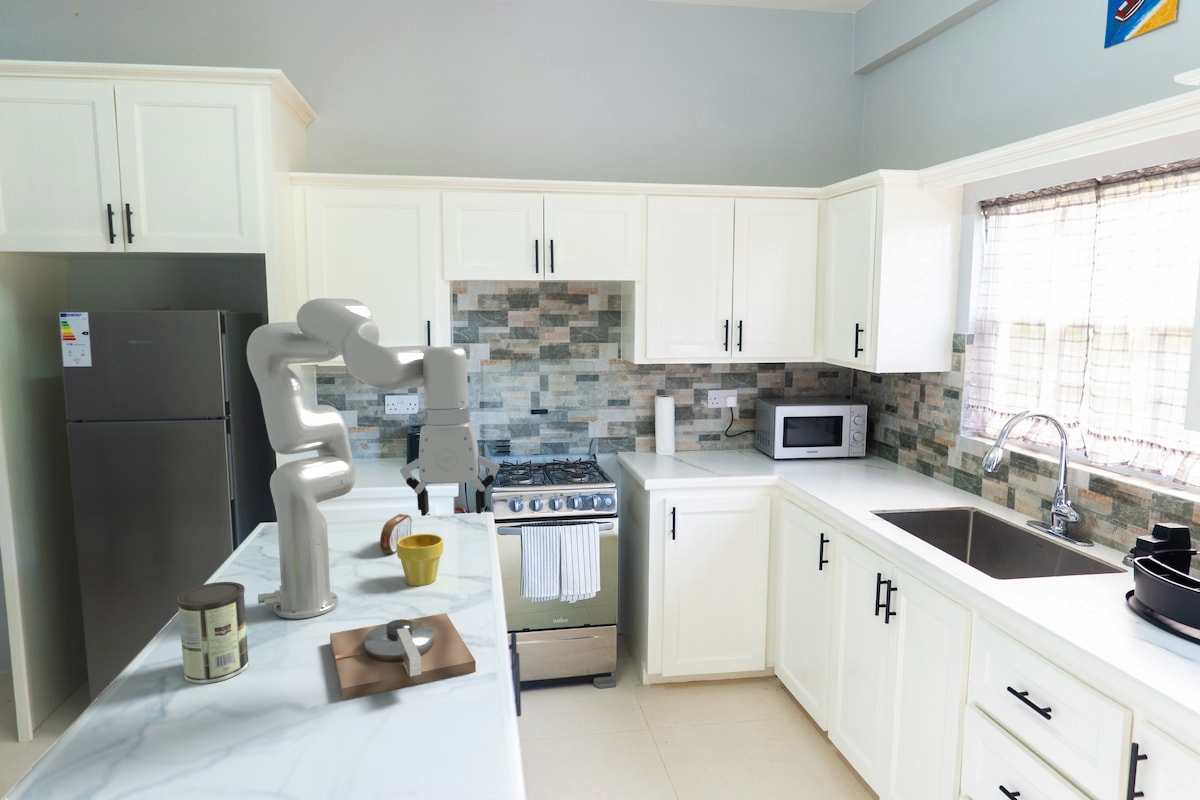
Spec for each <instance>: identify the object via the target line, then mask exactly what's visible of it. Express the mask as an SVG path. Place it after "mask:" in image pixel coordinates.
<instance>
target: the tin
mask: <svg viewBox="0 0 1200 800" xmlns="http://www.w3.org/2000/svg"><path fill="white" fill-rule="evenodd" d="M412 522H413V521H412V517H411V516H410V515H409V514H403V513H398V514H397V515H395V516H393V517H392V518H391V519H389V520H387V521H386V522H385V523H384V525H383V527H382V529H381V533H380V540H379V545H380V546H379V547H380V551H381V552H382V553H383V554H395V553H397V542H398V540H399V539H401V538H403V537H406V536H410V535H412Z"/></svg>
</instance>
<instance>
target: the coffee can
mask: <svg viewBox="0 0 1200 800" xmlns="http://www.w3.org/2000/svg"><path fill="white" fill-rule="evenodd" d="M176 602H177V605H178V615H179V616H178V617H179V627H180V640H181V642H180V643H181V653H182V654H181V655H182V664H183V678H184V680H185V681H187V682H188V683H193V684H198V685H199V684H201V685H202V684H203V685H205V684H213V683H218V682H219V683H220V682H221V681H226V680H228V679H231V678H233V677H236V676H238V675H240V674H241V673H242V672H244V671H245V670H246V669H247V668H248V666H249V665H250V659H249V650H248V648H249V647H248V636H247V624H246V620H247V619H246V605H245V586H244V585H243V584H242V583H238V582H235V581H234V582H233V581H219V582H217V581H216V582H210V583H205V584H200V585H197V586H194V587H191V588H188V589H187V590H185V591H183V592H181V593H180V594H179V595H178V596H177V599H176Z"/></svg>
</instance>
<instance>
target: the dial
mask: <svg viewBox="0 0 1200 800" xmlns="http://www.w3.org/2000/svg"><path fill="white" fill-rule="evenodd" d="M409 620H410V619H394V620H391V621H390V622H388V624H387V623H384V625H381V624H380V625H381V626H379V627H377V628H375V629H373V630H371V631H370V632H369V633H368V634H367V635H366V636H365V652H366V654H367V655H368V656H369V657H370V658H372V659H375V660H379V661H390V662H392V661H404V663H405V665H406V668H407V670H408V673H409V675H410V676H415V675H420V674H421V656H420V655H422V654H424V653H426V652H427V651H429V650H430V649H431V648H432V646H433V644H434V636H433V629H432V627H431V626H429V625H427V624H425V623H422V622H417V621H409Z"/></svg>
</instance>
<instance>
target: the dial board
mask: <svg viewBox="0 0 1200 800" xmlns="http://www.w3.org/2000/svg"><path fill="white" fill-rule="evenodd" d="M408 620H409V621H417V622H422V623H425V624H427V625H429V626H431V627H432V629H433V636H434V644H433V646H432V648H431V649H430V650H429V651H427V652H426V653H424V654H422V655H420V656H421V674H420V675H415V676H410V675H409V673H408V670H407V668H406V665H405V663H404V661H392V662H390V661H379V660H375V659H372V658H370V657H369V656H368V655H367V654H366V652H365V636H366V635H367V634H368V633H369V632H370V631H371V630H373V629H375V628H377V627H379V626H381V625H384V624H385V623H384V624H377V625H372V626H371V625H370V626H366V627H360V628H359V627H358V628H353V629H348V630H342V631H338V632H337V631H336V632H331V633H330V634H329V639H330V648H331V652H332V656H333V661H334V666H335V670H336V675H337V680H338V681H337V682H338V685H339V688H340V694H341V698H342V699H341V700H342V701H345V700H350V699H355V698H359V697H363V696H364V697H365V696H369V695H373V694H378V693H381V692H386V691H391V690H396V689H401V688H406V687H411V686H415V685H420V684H424V683H430V682H433V681H439V680H443V679H446V678H447V679H448V678H452V677H457V676H460V675H461V676H463V675H466V674H470V673H476V672H477V671H476V670H477V667H476V664H477V663H476V659H475V658H474V656H473V655H472V653H471V652H470V650H469V648H468V646H467V645H466V643H465V642H464V640H463V638H462V636H461V635H460V633H459V632H458V630H457V629H456V627H455V626H454V624H453V622H452V621H451V619H450V618H449V616H448V614H447V613H446V612H444V613H439V614H434V615H427V616H422V617H417V618H416V617H415V618H410V619H408ZM388 623H389V622H388ZM388 623H386V624H388Z"/></svg>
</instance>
